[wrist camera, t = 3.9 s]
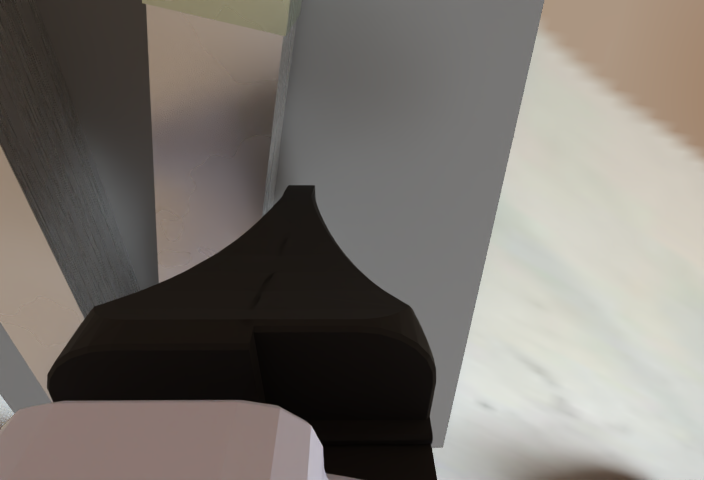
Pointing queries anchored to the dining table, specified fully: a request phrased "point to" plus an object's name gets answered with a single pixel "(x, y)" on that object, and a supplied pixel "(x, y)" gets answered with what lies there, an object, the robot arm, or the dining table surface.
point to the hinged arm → (215, 119)
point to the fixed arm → (49, 201)
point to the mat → (335, 145)
